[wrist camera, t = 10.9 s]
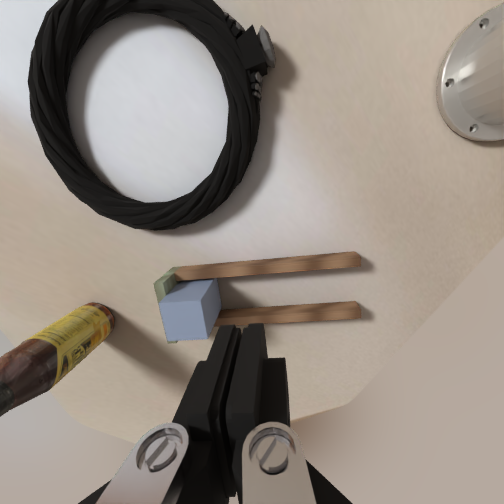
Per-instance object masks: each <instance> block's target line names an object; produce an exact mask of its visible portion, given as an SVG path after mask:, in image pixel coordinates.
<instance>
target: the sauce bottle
mask: <svg viewBox="0 0 504 504" xmlns="http://www.w3.org/2000/svg"><path fill="white" fill-rule="evenodd" d="M113 327H114V317H113V315H112V314H111V312H110V311H109V310H108V309H107V308H106V307H105V306H103V305H100V304H98V303H88V304H86V305H84V306H81V307H79V308H77V309H75V310H74V311H72V312H71V313H69V314H67V315H66V316H64V317H62V318H61V319H59V320H58V321H56V322H54V323H53V324H51V325H49V326H48V327H46V328H45V329H43V330H41V331H40V332H38V333H37V334H35V335H33V336H32V337H30V338H28V339H27V340H25V341H24V342H22V343H21V344H20V345H19V346H17V347H16V348H14V349H13V350H11V351H10V352H8V353H6V354H4V355H3V356H2V357H0V416H2V415H3V414H5V413H6V412H8V411H9V410H11V409H13V408H15V407H17V406H19V405H21V404H23V403H25V402H27V401H29V400H31V399H33V398H35V397H37V396H38V395H41V394H43V393H45V392H47V391H48V390H50V389H51V388H52V387H53V386H54V385H55V384H57V383H58V382H59V381H60V380H61V379H62V378H63V377H64V376H65V375H66V374H67V373H68V372H70V371H71V370H72V369H73V368H74V367H75V366H76V365H77V364H79V363H80V362H81V361H82V360H83V359H84V358H85V357H86V356H87V355H88V354H89V353H91V352H92V351H93V350H94V349H95V348H96V347H97V346H98V345H99V344H100V343H101V342H103V341H104V340H105V339H106V338H107V336H108V335H109V334H110V333H111V332H112V330H113Z"/></svg>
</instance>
